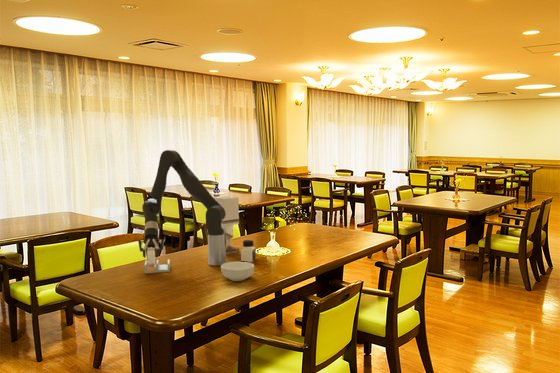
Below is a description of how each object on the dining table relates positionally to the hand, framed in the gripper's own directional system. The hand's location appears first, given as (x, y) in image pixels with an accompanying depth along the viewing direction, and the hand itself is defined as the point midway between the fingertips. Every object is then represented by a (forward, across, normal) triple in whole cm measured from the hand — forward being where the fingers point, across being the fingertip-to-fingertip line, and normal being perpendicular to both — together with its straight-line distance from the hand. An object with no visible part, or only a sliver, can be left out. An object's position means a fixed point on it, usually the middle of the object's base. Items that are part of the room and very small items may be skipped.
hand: (151, 256), depth 245 cm
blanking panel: (+2, 0, +7) cm, 7 cm away
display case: (-19, +45, +30) cm, 57 cm away
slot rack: (+4, +3, +7) cm, 9 cm away
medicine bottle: (-1, +54, +12) cm, 56 cm away
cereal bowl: (+24, +44, -12) cm, 51 cm away
